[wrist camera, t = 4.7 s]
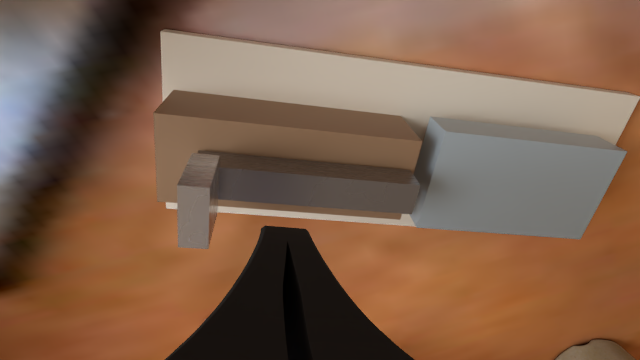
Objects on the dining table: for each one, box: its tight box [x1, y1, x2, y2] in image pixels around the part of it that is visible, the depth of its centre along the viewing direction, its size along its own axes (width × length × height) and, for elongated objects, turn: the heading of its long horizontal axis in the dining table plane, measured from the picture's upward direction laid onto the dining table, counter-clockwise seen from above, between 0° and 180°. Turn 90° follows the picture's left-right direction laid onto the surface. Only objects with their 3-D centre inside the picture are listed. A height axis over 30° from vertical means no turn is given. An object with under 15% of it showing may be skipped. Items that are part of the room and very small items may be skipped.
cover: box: [409, 116, 627, 239], centre depth 20 cm, size 5×9×2 cm, turn 82°
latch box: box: [153, 29, 640, 226], centre depth 20 cm, size 9×24×4 cm, turn 82°
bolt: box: [177, 150, 421, 249], centre depth 15 cm, size 2×9×4 cm, turn 82°
